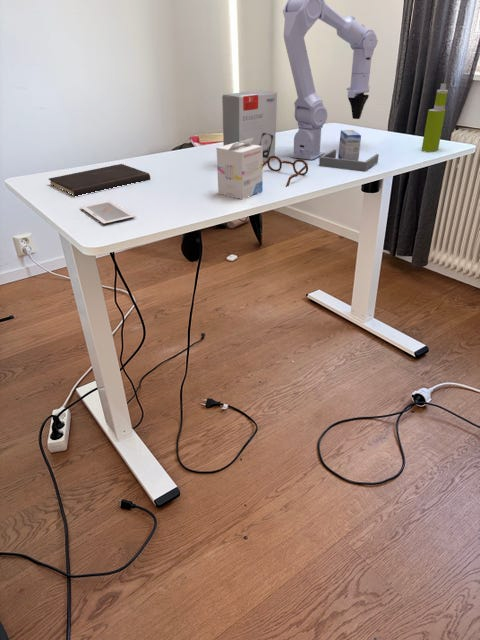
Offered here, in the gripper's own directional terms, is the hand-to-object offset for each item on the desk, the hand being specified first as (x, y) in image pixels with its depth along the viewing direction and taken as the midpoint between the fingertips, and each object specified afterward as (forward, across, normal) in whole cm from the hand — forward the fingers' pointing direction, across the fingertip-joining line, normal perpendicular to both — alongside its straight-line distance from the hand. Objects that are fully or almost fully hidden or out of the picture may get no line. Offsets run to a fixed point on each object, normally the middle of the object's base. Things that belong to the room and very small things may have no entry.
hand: (356, 118), depth 163 cm
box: (+9, +21, +7) cm, 24 cm away
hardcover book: (+10, +73, -47) cm, 87 cm away
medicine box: (+10, +18, +5) cm, 21 cm away
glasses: (+10, +45, -5) cm, 47 cm away
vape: (+10, -8, +24) cm, 27 cm away
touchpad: (+10, +91, -26) cm, 95 cm away
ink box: (+9, +62, -7) cm, 63 cm away
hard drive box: (+10, +33, -22) cm, 41 cm away
